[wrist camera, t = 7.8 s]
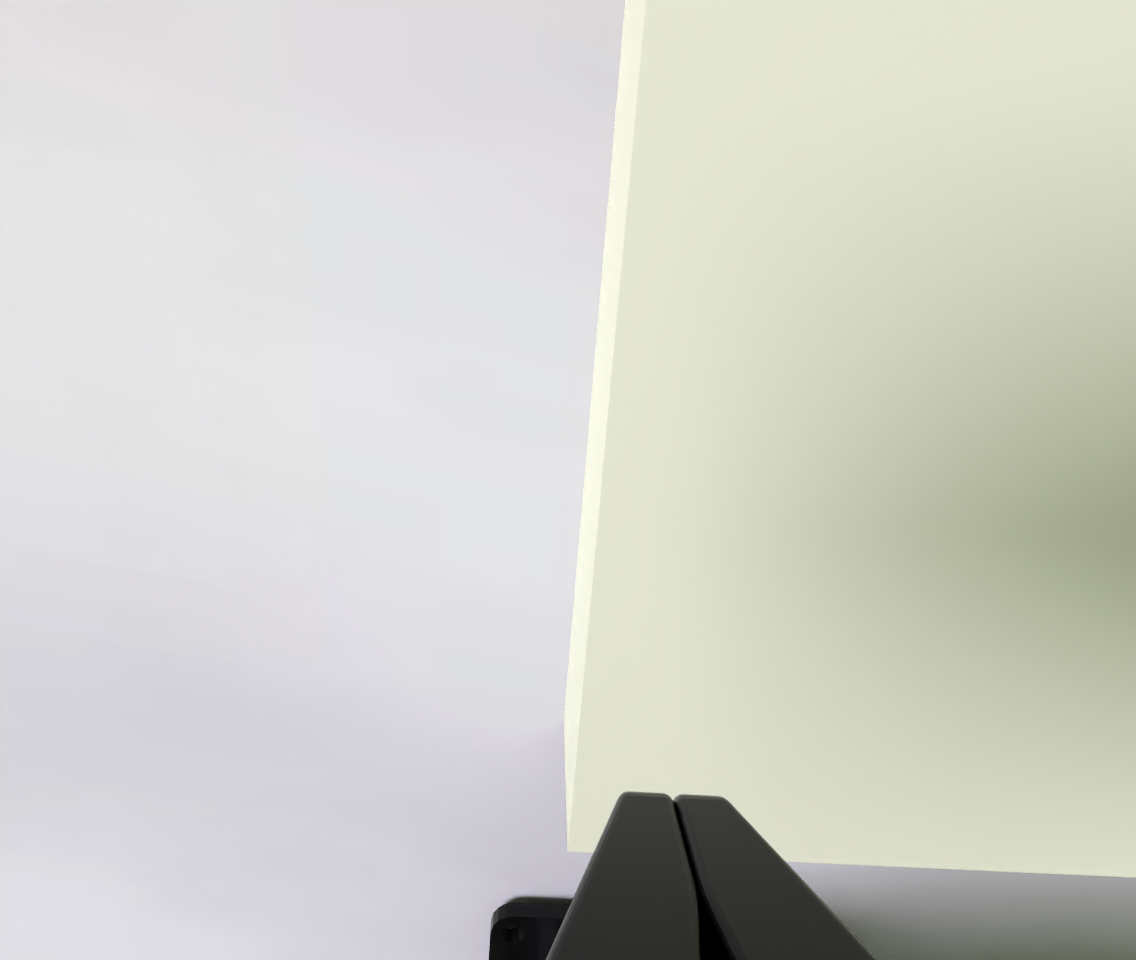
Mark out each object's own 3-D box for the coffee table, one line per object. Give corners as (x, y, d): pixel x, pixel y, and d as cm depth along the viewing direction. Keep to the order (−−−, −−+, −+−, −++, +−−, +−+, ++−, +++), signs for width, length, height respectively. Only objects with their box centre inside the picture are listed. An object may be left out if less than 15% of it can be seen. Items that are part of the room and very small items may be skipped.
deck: (1124, 747, 23) (1236, 882, 19) (563, 718, 22) (568, 851, 19) (1487, -404, 16) (1784, -549, 12) (667, -490, 15) (707, -669, 11)
